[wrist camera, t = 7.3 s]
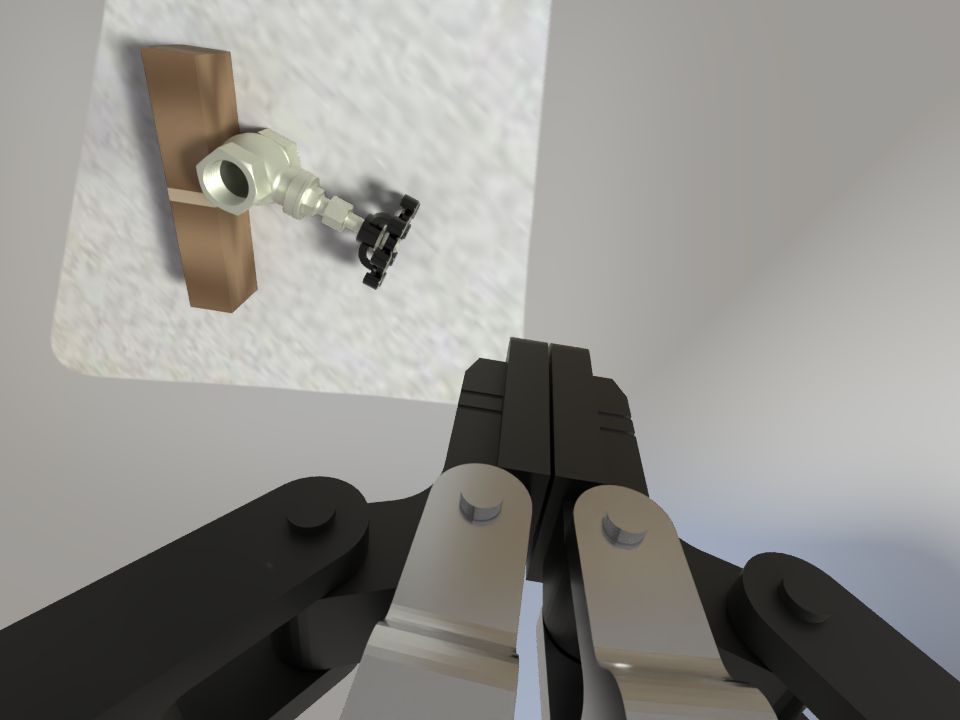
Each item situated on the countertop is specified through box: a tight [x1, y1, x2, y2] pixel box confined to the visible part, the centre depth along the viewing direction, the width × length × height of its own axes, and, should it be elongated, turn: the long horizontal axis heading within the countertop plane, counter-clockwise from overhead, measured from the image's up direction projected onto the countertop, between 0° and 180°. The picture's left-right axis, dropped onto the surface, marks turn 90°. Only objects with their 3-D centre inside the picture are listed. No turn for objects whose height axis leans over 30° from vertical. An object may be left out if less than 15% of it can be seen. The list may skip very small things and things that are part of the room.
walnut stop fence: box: [140, 45, 257, 313], centre depth 35 cm, size 16×3×4 cm, turn 173°
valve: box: [196, 128, 420, 290], centre depth 34 cm, size 7×7×12 cm
